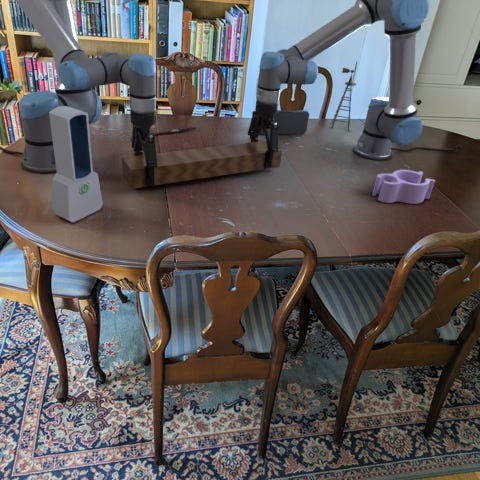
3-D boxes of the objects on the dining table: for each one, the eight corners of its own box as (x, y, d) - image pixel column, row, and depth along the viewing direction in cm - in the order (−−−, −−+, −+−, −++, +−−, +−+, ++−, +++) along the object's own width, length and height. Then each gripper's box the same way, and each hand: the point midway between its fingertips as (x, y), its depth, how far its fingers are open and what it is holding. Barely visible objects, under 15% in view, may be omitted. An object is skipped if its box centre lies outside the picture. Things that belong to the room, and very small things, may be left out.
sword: (193, 127, 202) (193, 124, 201) (196, 129, 200) (196, 126, 199) (126, 139, 186) (126, 136, 185) (130, 142, 184) (130, 139, 183)
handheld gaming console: (303, 131, 211) (307, 109, 206) (306, 133, 209) (310, 111, 204) (256, 132, 204) (259, 110, 199) (258, 135, 202) (261, 112, 197)
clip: (385, 206, 156) (390, 187, 152) (365, 189, 166) (370, 171, 162) (433, 201, 162) (440, 184, 158) (412, 185, 172) (417, 168, 168)
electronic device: (70, 224, 129) (57, 118, 113) (51, 215, 132) (36, 111, 116) (103, 208, 138) (96, 107, 122) (85, 200, 141) (76, 101, 125)
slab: (132, 188, 145) (131, 170, 141) (122, 175, 152) (121, 157, 148) (279, 166, 169) (282, 150, 166) (265, 156, 176) (267, 140, 173)
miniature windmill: (349, 131, 218) (364, 64, 201) (331, 128, 219) (344, 61, 202) (349, 124, 225) (363, 60, 209) (331, 122, 226) (344, 57, 210)
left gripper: (169, 121, 132) (168, 191, 144) (142, 97, 148) (143, 162, 160) (143, 124, 129) (144, 195, 141) (119, 99, 145) (122, 165, 157)
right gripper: (241, 92, 164) (236, 151, 176) (275, 112, 148) (267, 176, 160) (259, 90, 168) (253, 149, 180) (295, 110, 152) (285, 173, 164)
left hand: (144, 177), depth 151 cm, fingers closed on slab, 10 cm apart
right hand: (260, 161), depth 170 cm, fingers closed on slab, 10 cm apart
